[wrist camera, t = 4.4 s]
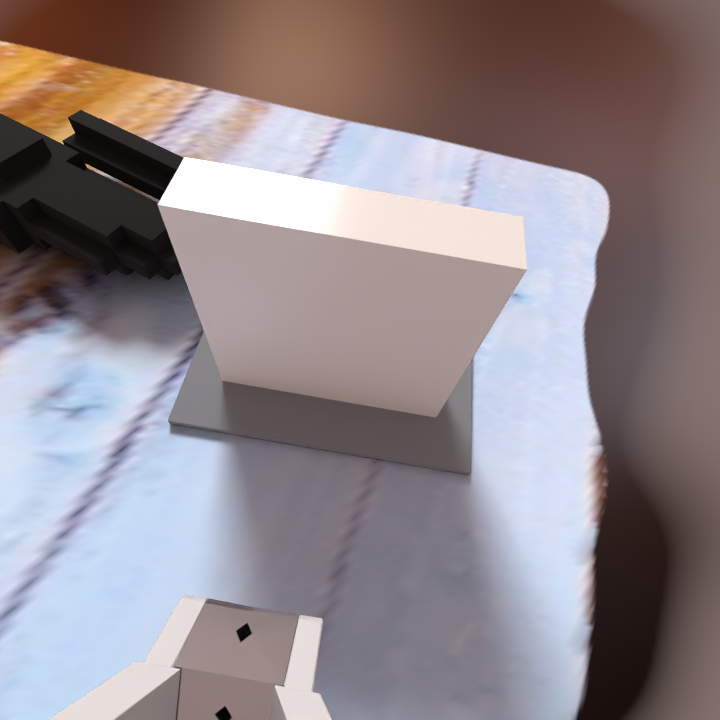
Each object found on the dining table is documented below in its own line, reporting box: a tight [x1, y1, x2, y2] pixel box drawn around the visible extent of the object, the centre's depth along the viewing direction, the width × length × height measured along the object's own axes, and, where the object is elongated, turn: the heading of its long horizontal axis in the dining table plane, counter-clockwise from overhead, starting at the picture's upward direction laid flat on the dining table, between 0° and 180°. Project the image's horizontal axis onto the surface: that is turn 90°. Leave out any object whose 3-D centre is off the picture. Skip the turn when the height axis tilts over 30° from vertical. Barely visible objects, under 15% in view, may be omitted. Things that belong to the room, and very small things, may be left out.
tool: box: [0, 110, 184, 280], centre depth 27 cm, size 5×20×15 cm
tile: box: [158, 157, 527, 418], centre depth 20 cm, size 2×12×12 cm, turn 82°
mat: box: [168, 332, 472, 475], centre depth 28 cm, size 18×16×1 cm
